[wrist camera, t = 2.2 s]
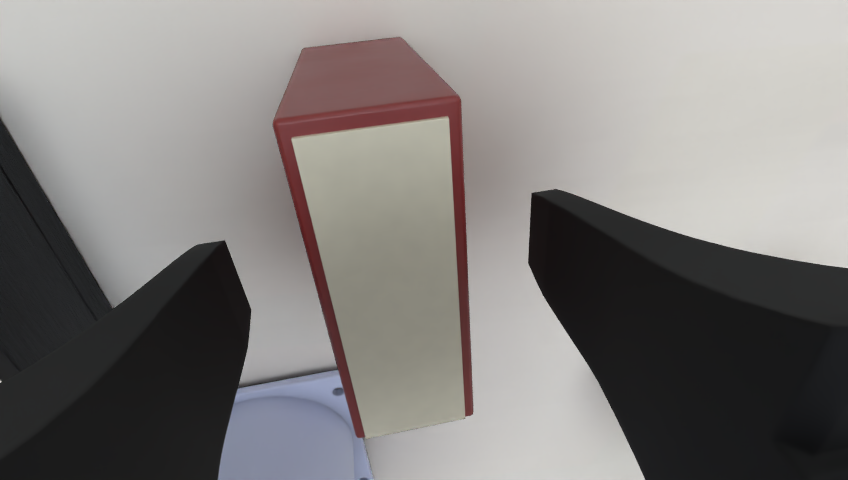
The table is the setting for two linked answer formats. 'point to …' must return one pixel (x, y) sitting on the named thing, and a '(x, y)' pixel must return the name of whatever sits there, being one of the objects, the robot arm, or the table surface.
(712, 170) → the table surface
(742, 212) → the table surface
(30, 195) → the rack
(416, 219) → the book
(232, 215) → the table surface
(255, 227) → the table surface
